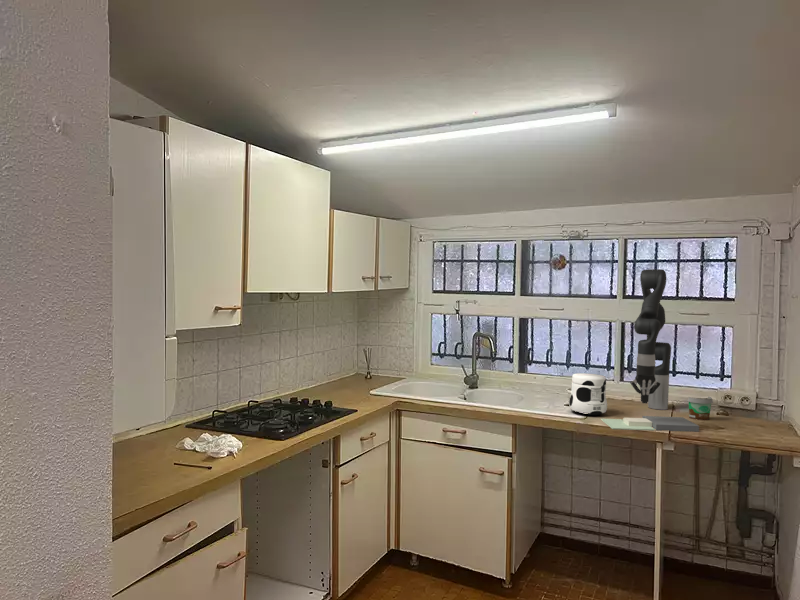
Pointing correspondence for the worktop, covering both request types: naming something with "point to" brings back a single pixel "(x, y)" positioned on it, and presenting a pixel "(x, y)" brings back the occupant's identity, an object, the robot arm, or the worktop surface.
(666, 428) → the platform
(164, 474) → the worktop surface
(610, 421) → the mat
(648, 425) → the cream flat block
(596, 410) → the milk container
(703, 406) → the food container
